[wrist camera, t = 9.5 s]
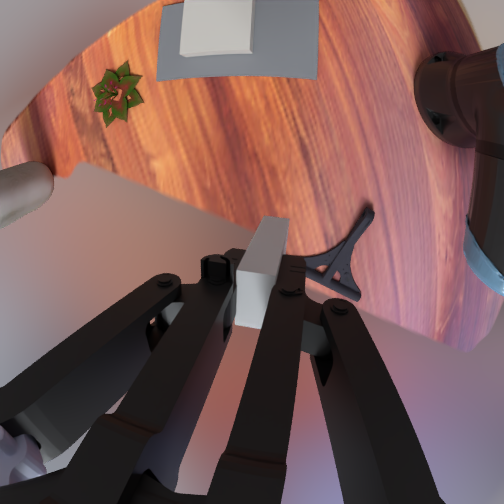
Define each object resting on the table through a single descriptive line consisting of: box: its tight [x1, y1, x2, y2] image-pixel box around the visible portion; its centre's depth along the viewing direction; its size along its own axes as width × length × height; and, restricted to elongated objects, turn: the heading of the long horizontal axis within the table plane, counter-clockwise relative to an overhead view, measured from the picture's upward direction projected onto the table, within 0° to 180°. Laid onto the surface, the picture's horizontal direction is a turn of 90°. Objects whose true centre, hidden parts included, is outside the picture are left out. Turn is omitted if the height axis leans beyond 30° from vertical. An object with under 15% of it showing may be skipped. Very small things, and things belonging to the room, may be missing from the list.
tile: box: [180, 0, 256, 57], centre depth 30 cm, size 10×3×10 cm
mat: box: [156, 0, 319, 81], centre depth 32 cm, size 24×14×1 cm, turn 88°
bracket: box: [303, 208, 375, 302], centre depth 43 cm, size 14×15×3 cm
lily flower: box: [92, 60, 144, 128], centre depth 37 cm, size 12×12×5 cm
